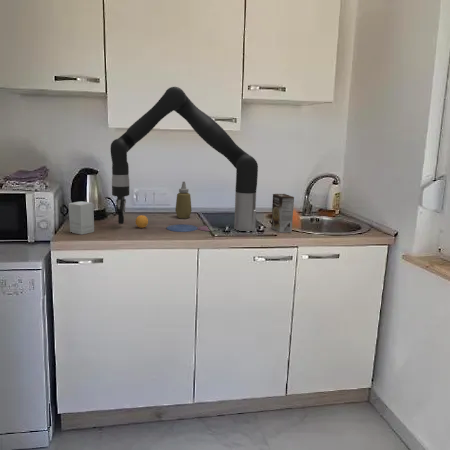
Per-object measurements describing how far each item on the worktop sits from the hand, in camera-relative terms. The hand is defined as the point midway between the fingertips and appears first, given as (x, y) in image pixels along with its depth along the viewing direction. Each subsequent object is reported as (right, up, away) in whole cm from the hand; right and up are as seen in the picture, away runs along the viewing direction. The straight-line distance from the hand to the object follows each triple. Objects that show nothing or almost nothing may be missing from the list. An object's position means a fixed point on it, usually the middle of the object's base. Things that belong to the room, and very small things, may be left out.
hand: (121, 223), depth 211 cm
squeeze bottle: (+25, +3, +26) cm, 36 cm away
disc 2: (+39, -2, +3) cm, 39 cm away
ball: (+9, +1, 0) cm, 9 cm away
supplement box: (-14, -4, -10) cm, 18 cm away
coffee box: (+72, -3, +4) cm, 72 cm away
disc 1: (+27, -2, +2) cm, 27 cm away
